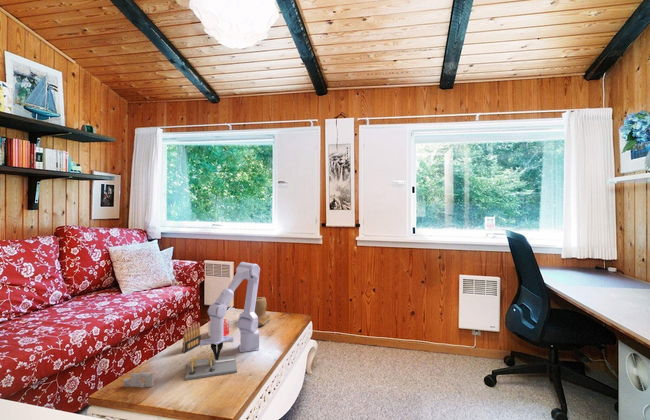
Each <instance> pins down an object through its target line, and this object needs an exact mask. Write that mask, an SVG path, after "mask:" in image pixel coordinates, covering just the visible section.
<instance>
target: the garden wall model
mask: <svg viewBox="0 0 650 420" xmlns="http://www.w3.org/2000/svg"><path fill="white" fill-rule="evenodd" d="M155 374H156V372H155V373H149V372H146V371H141V372H138V373H135V372H134V373H130V375H129V376H130V378H128V377H127V378H126V377H125V378H123V381H122V382H123V387H124V388H125V387H126V388H129V387H132V388H134V387H135V388H136V387H137V388H146V387H147V388H149V387H150V388H151V387H152V388H153V387H154V385H155Z"/></svg>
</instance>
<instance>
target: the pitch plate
mask: <svg viewBox="0 0 650 420" xmlns="http://www.w3.org/2000/svg"><path fill="white" fill-rule="evenodd" d="M235 373H238V368H237V359H236V355H234V354H233V355H228V356H219V358H218V360H215V357H214V364H212V369H211V370H210V364H208V358H204V359H199V360H197V355H195V356H194V355H193V356H190V359H189V361H188V362H187V368H186V372H185V381H189V380H195V379H200V378H201V379H202V378H210V377H215V375H216V376H223V375H227V374H235ZM209 376H210V377H209Z"/></svg>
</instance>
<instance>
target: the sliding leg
mask: <svg viewBox="0 0 650 420" xmlns="http://www.w3.org/2000/svg"><path fill="white" fill-rule="evenodd" d="M214 358H215V356H214V353H213V352H212V353H208V358H207V359H208V364H210V370H211V369H212V364H214Z"/></svg>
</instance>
